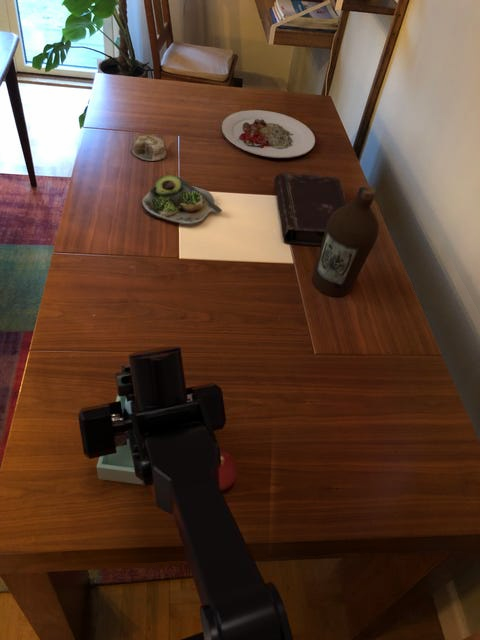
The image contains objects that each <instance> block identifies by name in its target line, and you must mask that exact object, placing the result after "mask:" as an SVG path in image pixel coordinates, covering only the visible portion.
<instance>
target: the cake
mask: <svg viewBox="0 0 480 640" xmlns="http://www.w3.org/2000/svg"><path fill="white" fill-rule="evenodd" d="M165 147H166V145H165V142H164V140H163V139H161V138H160V137H158V136H156V135H152V134H142V135H140V134H139V135H137V136H135V138H134V139H133V141H132V147H131V153H132V155H133V156H134V157H136V158H139V159H140V160H144V161H148V162H149V161H151V162H154V161H155V162H156V161H161V160H163V159H165V158H166V156H167V151H166V148H165Z"/></svg>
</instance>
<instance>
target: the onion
mask: <svg viewBox="0 0 480 640" xmlns="http://www.w3.org/2000/svg"><path fill="white" fill-rule="evenodd" d="M219 450H220V455H221V467H220V468H218V469H219V485H220V490H221V491H225V490H227V489H228V488H230V487H231V486H232V485H233V484H234V482H235V481H236V479H237V474H238V466H237V462H236V460H235V459H234V456H233V455H232V454H231V453H229V452H228V451H225V450H222V449H219Z"/></svg>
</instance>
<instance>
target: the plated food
mask: <svg viewBox="0 0 480 640" xmlns="http://www.w3.org/2000/svg"><path fill="white" fill-rule="evenodd" d="M221 124H222V125H221V132H222V133H223V135H224V137H225V139H227V140H228V141H229V142H230V143H232V144H233V145H234V146H235V147H237V148H239V149H241V150H243V151H246V152H248V153H251V154H254V155H257V156H262V157H267V158H274V159H290V158H295V157H296V158H297V157H300V156H303V155H306V154H307V153H309V152H311V151H312V149H313V148H314V146H315V144H316V138H315V135H314V133H313V131H312V130H311V129H310V128H309V127H308V126H307V125H305V124H304V123H302V122H301V121H299V120H297V119H295V118H293V117H291V116H288V115H286V114H283V113H279V112H276V111H269V110H262V109H261V110H260V109H259V110H258V109H249V110H240V111H238V112H234V113H232V114H230V115H228V116H227V117H225V118H224V120H223V121H222V123H221Z"/></svg>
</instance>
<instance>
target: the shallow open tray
mask: <svg viewBox="0 0 480 640" xmlns="http://www.w3.org/2000/svg"><path fill="white" fill-rule="evenodd" d="M117 401H121V405H122V407H125V401H126V397H125V396H121V397H119V396H118V395H117V396H116V400H115V402H117ZM125 410H126V408H125ZM116 451H117V453H114V454H110V455H105V456H101V457H98V461H97V464H96V471H97V476H98V479H99V480H104V481H111V482H119V483H126V484H136V485H142V486H143V482H142V480H140V479H139V478H138V477H136V476H135V471H134V465H133V460H132V455H131V450H130V445H129V442H128V439H127V445H123V446H119V447H116Z"/></svg>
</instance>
